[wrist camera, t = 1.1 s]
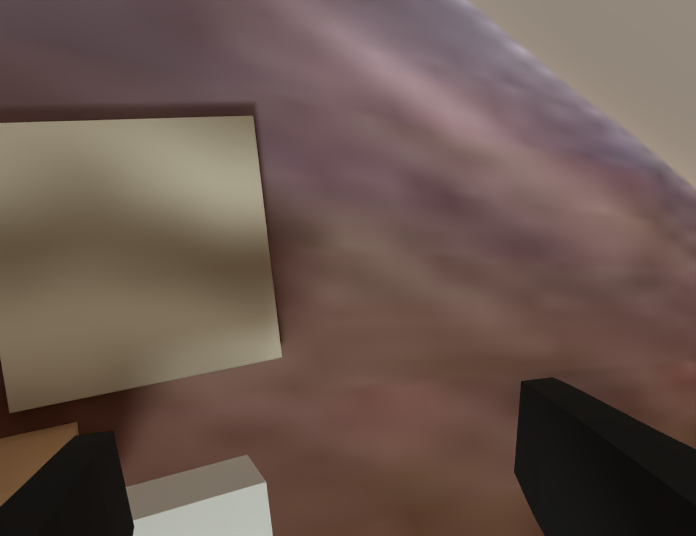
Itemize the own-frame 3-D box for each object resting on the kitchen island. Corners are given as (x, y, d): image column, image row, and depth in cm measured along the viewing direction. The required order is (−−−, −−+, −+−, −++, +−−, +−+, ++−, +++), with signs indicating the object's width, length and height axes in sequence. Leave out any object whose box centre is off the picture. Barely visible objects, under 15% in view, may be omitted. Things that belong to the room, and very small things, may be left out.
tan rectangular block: (92, 522, 22) (91, 606, 17) (-30, 557, 20) (-72, 661, 15) (77, 421, 21) (70, 477, 16) (-49, 448, 20) (-99, 519, 15)
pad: (277, 354, 24) (282, 357, 24) (12, 408, 20) (9, 413, 20) (249, 118, 23) (253, 115, 23) (-35, 127, 20) (-39, 124, 19)
